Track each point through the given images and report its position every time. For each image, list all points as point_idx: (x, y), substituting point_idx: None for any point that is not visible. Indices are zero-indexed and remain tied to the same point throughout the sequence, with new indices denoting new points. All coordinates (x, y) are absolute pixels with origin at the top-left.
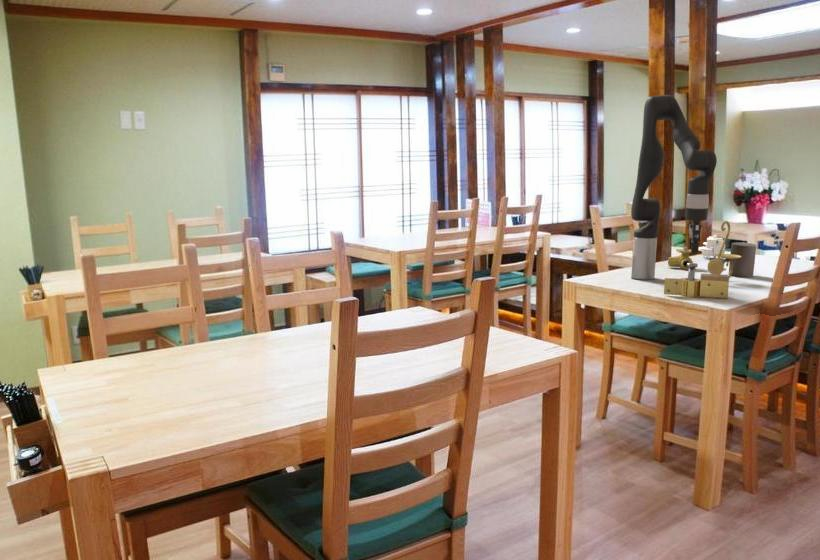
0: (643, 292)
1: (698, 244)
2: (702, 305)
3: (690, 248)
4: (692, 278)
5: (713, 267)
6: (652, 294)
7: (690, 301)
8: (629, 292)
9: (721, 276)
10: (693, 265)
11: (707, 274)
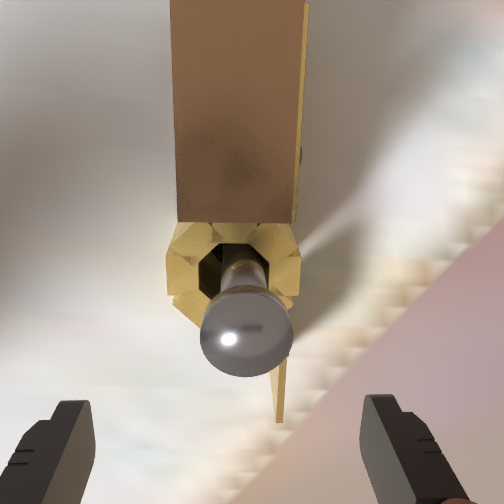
0: (218, 435)
1: (436, 477)
2: (491, 193)
3: (90, 451)
4: (264, 273)
5: None
6: (256, 401)
7: (395, 244)
8: (237, 484)
9: (280, 63)
10: (291, 327)
11: (208, 173)
